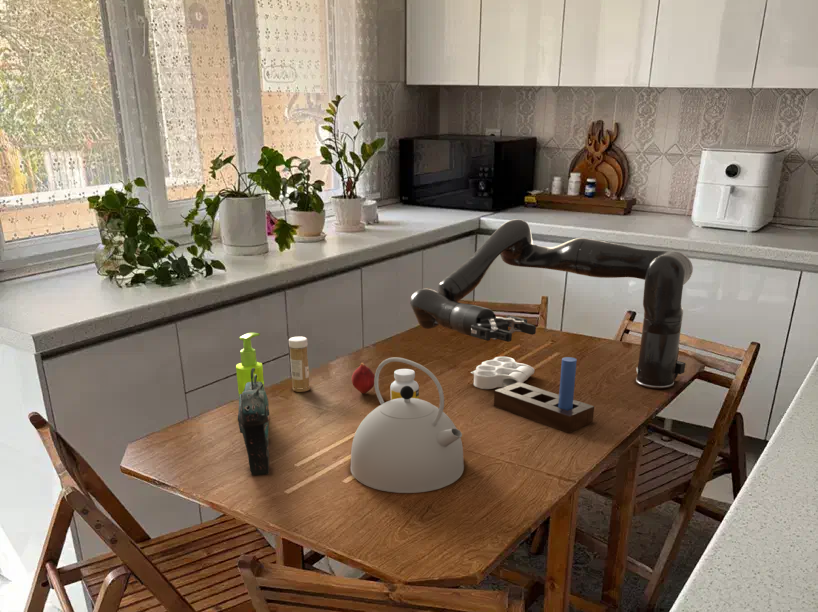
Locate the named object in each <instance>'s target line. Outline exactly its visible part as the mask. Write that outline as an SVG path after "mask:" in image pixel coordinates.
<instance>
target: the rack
mask: <svg viewBox="0 0 818 612" xmlns="http://www.w3.org/2000/svg"><path fill="white" fill-rule="evenodd" d="M493 393H494V395H493V398H494V399H493V407H496V408H499V409H501V410H504V411H505V412H506V411H507V412H509V413H512V414H515V415H518V416H521V417H523V418H525V419H528V420H532V421H534V422H537V423H539V424H542V425H544V426H548V427H551V428H553V429H556V430H559V431H561V432H565V433H566V434H569V433H570V434H571V433H572V432H574V431H576V430H580V429H582V428H584V427H586V426H588V425H591V424H593V423H594V414H595V406H594V405H592V404H589V403H585V402H582V401H579V400H576V399H573V409H571V410H568V411H567V410H564V409H561V408H558V404H559V393H558V394H557V393H554V392H552V391H548V390H547V389H543V388H539V387H536V386H533V385H531V384H530V385H529V384H527V383H524V382H523V383H521V382H518V383H515V384H512V385H509V386H506V387H499V388H497V389H494V391H493Z"/></svg>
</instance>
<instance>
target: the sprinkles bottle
mask: <svg viewBox="0 0 818 612" xmlns="http://www.w3.org/2000/svg"><path fill="white" fill-rule="evenodd" d="M288 346H289V355H290V370H291V380H292V381H291V383H292V390H293V392H297V393H303V392H304V393H305V392H308V391H309V390H310V389H311V385H310V369H309V359H308V338H307V337H305V336H301V335H300V336H299V335H298V336H292V337H289V339H288ZM309 385H310V386H309ZM308 386H309V387H308ZM294 387H295V388H294ZM306 387H307V388H306ZM297 388H303V389H297Z"/></svg>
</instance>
